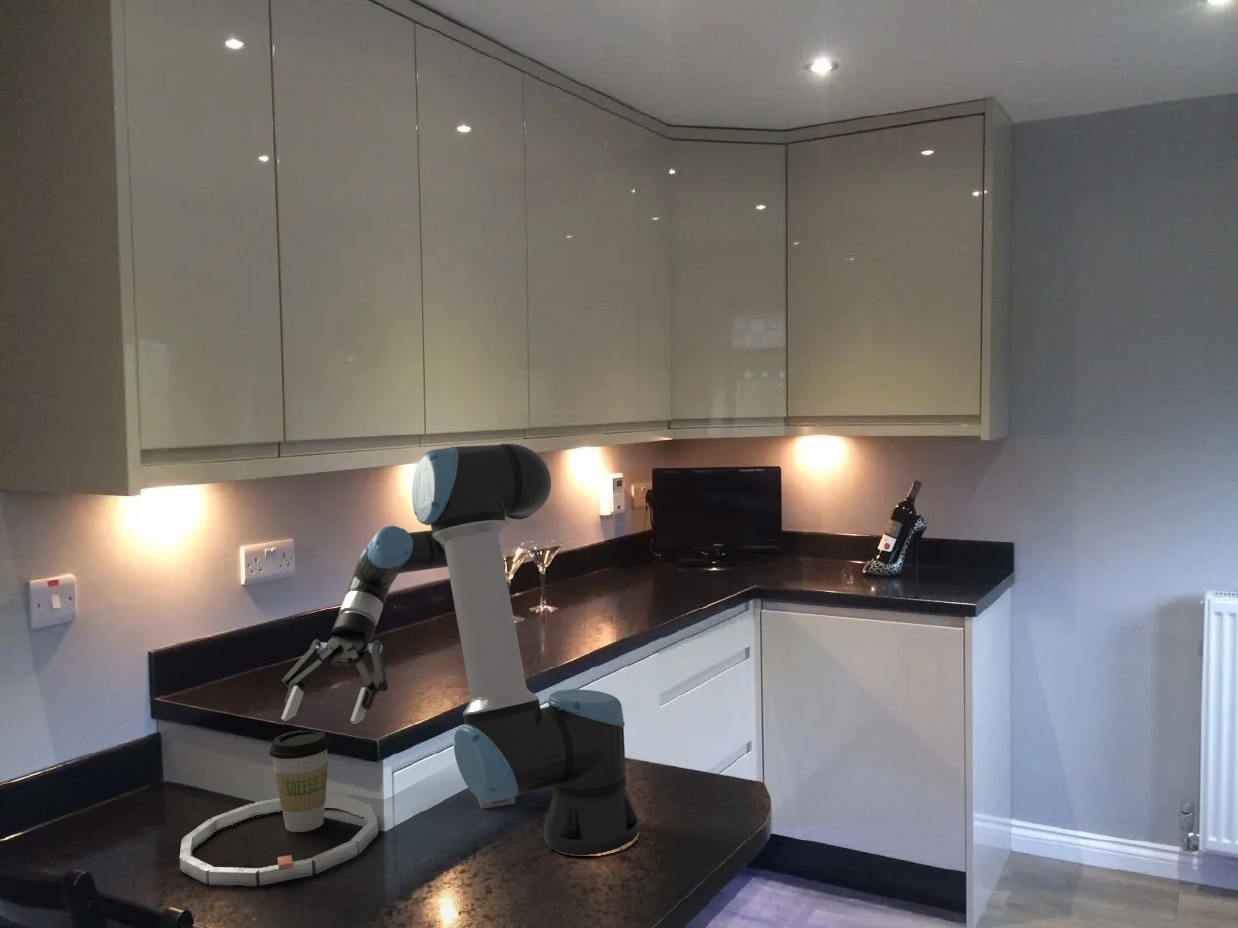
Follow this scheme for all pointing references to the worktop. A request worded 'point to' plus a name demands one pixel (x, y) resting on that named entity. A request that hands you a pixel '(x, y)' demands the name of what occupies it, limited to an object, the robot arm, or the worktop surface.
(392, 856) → the worktop surface
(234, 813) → the centring ring
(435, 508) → the robot arm
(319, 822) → the coffee cup
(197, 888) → the worktop surface
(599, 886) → the worktop surface
